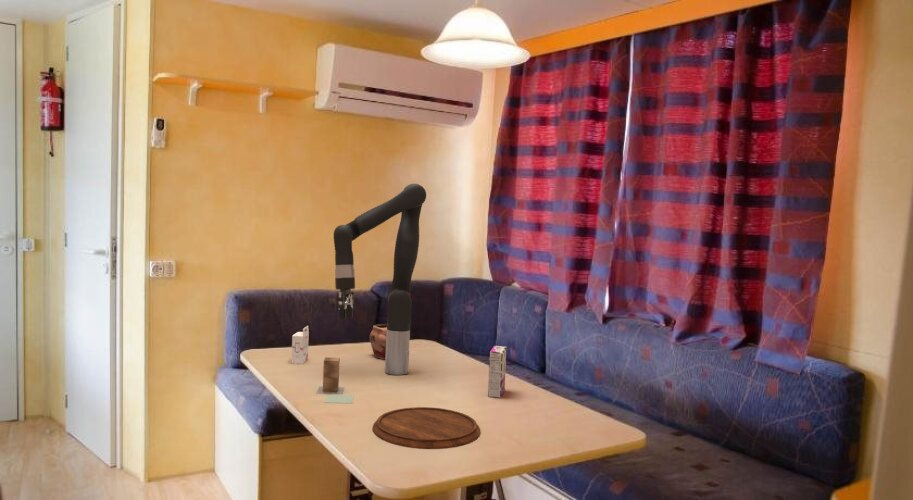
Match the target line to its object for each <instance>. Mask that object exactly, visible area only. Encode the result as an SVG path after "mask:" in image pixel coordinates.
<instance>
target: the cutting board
mask: <svg viewBox="0 0 913 500" xmlns="http://www.w3.org/2000/svg"><path fill="white" fill-rule="evenodd" d="M372 433H373V434H374V435H375V436H376V437H377V438H378V439H380V440H382V441H384V442H386V443H389V444H392V445H395V446H399V447H404V448H405V447H406V448H412V449H419V450H420V449H421V450H440V449H441V450H442V449H452V448H458V447H461V446H466V445H469V444H471V443H473V442H474V441H476V440H477V439H478V438H479V437H480V436H481V428H480V426H479V424H478V423H477V421H476V420H475V419H474V418H473V417H472V416H470V415H468V414H466V413H463V412H459V411H456V410H454V409H453V410H452V409H448V408H440V407H429V406H428V407H426V406H425V407H424V406H423V407H422V406H420V407H419V406H417V407H414V406H413V407H405V408H404V407H403V408H397V409H394V410H390V411H387V412H385V413H382V414H381V415H379V416H378V418H377V419H376V420H375V421H374V423H373V425H372Z"/></svg>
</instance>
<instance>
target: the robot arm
mask: <svg viewBox="0 0 913 500" xmlns="http://www.w3.org/2000/svg"><path fill="white" fill-rule="evenodd" d="M426 199H427V192H426V189H425V188H424V187H423V186H422V185H421V184H418V183H410V184H408V185H407V186H405V187H404V188H403V190H402V191H401V192H400V193H398V194H396V195H395V196H394V197H392V198H390V199H389V200H387V201H386V202H383V203H381V204H379V205H377V206H375V207H372V208H371V209H369V210H366V211H365V212H363V213H361V214H360V215H357V216H356V217H355V218H354V220H352V221H350V222H348V223H346V224H340V225H338V226H337V227H335V229H334V230H333V244H334V251H335V252H334V253H335V255H334V262H335V263H334V264H335V267H334V268H335V269H334V281H335V282H334V284H335V285H334V286H335V287H334V288H335V290H337V292H336V307H337V309H338V310H339V319H340V320H344V321H345V320H346V319H349V320H350V319H353V309H354V307H355V293H354V291H352V290H354V289H356V277H355V273H356V272H355V265H354V252H353V241H355V240H356V239H357V238H359V237H360V236H362V235H364V234H366V233H368V232H369V231H371V230H373V229H375V228H377V227H378V226H380V225H382V224H384V223H385V222H386V221H388V220H390V219H391V218H393V217H395V216H396V215H399V214H401V217H400V222H399V224H398V229H397V234H396V240H395V244H394V245H395V246H394V253H393V254H394V255H393V274H392V275H393V276H392V282H391V287H390V290H389V294H388V297H387V317H386V319H387V321H386V325H387V336H386V358H385V359H384V360H385V362H384V365H385V366H384V373H385V374H387V375H392V376H395V375H396V376H402V375H409V364H410V363H409V361H410V340H411V322H412V305H413V303H412V302H413V301H412V297H411V287H412V286H411V284H412V277H413V273H414V270H415V266H416V263H417V259H418V254H419V246H420V217H421V216H420V215H421V212H422V207H423V205H424V203H425V201H426ZM338 290H339V291H338Z"/></svg>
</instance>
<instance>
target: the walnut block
mask: <svg viewBox="0 0 913 500" xmlns="http://www.w3.org/2000/svg"><path fill="white" fill-rule="evenodd" d="M340 360H341V357H327V356H326V357H324V359H323V371H322V372H323V374H322V375H323V376H322V387H323V392H338V389H339V387H340V385H339V382H340V362H341V361H340Z"/></svg>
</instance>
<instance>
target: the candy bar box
mask: <svg viewBox="0 0 913 500" xmlns="http://www.w3.org/2000/svg"><path fill="white" fill-rule="evenodd" d="M506 362H507V346H501V345H493V347H492V349H490V351H489V359H488V385H487V386H488V389H487V397H488V398H495V399H501V398H502V396H503V394H504V392H505V390H506V389H505V388H506V387H505V386H506V369H507V368H506V367H507V366H506V364H507V363H506Z"/></svg>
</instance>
